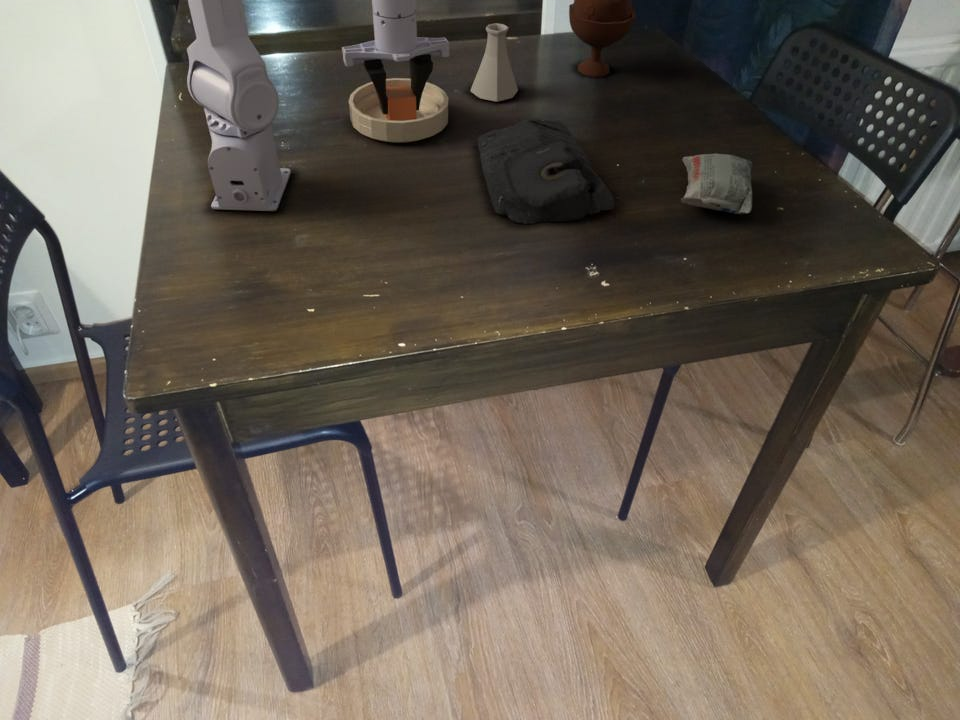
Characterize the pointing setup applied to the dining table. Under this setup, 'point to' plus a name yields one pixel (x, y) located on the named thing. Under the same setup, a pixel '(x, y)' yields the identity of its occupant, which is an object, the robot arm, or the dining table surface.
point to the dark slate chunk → (540, 174)
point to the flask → (495, 68)
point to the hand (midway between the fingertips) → (399, 109)
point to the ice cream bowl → (600, 28)
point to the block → (401, 103)
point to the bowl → (376, 125)
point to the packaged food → (719, 183)
